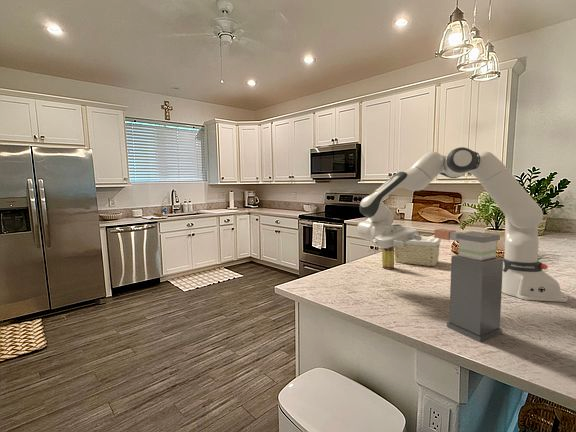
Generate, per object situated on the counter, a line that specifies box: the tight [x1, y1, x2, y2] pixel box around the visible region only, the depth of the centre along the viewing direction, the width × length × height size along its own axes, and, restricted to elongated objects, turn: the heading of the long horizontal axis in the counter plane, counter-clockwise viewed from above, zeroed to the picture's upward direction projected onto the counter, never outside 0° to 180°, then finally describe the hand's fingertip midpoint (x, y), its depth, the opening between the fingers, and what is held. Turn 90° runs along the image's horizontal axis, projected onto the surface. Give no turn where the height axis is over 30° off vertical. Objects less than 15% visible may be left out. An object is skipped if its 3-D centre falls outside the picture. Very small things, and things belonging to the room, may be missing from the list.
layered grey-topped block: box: [433, 228, 501, 262], centre depth 100 cm, size 18×8×24 cm, turn 26°
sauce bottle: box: [381, 246, 395, 270], centre depth 168 cm, size 7×6×20 cm
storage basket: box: [394, 235, 442, 267], centre depth 179 cm, size 24×16×15 cm
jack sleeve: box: [446, 254, 504, 343], centre depth 96 cm, size 11×11×24 cm
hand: (412, 241), depth 121 cm, fingers open, 8 cm apart
